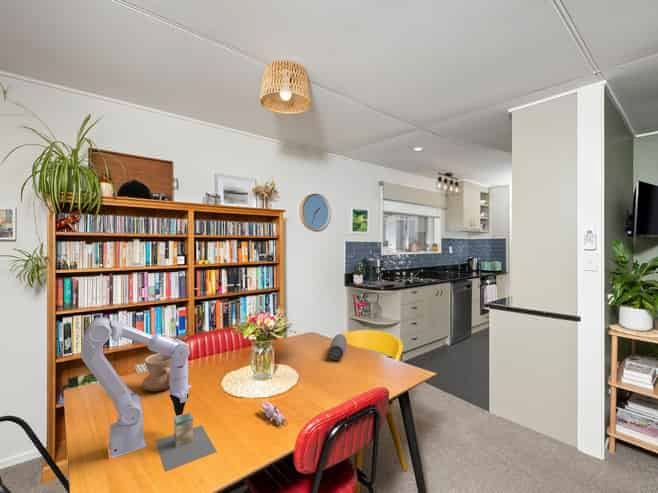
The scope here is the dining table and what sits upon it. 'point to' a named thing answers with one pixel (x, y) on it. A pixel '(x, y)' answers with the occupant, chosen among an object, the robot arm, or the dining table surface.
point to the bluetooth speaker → (338, 347)
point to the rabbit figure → (273, 413)
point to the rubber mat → (184, 449)
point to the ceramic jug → (157, 373)
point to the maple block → (183, 429)
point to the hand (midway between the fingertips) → (178, 414)
